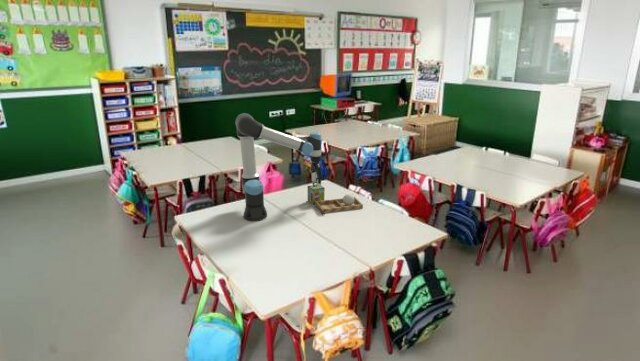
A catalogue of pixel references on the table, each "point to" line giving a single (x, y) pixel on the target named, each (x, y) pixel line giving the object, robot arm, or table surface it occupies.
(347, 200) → the grey ball
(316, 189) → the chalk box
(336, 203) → the tray
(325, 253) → the table surface
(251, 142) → the robot arm
